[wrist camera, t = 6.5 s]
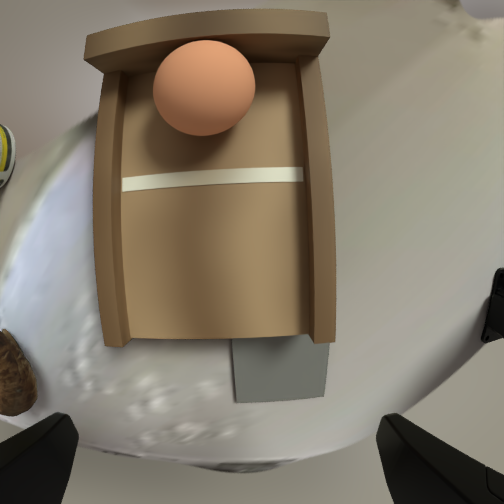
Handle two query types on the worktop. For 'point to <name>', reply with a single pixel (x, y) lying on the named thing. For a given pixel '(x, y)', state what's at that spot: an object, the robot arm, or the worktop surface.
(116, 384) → the worktop surface
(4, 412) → the mushroom
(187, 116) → the ball
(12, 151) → the supplement bottle
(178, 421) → the worktop surface
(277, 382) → the coaster
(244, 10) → the tray
